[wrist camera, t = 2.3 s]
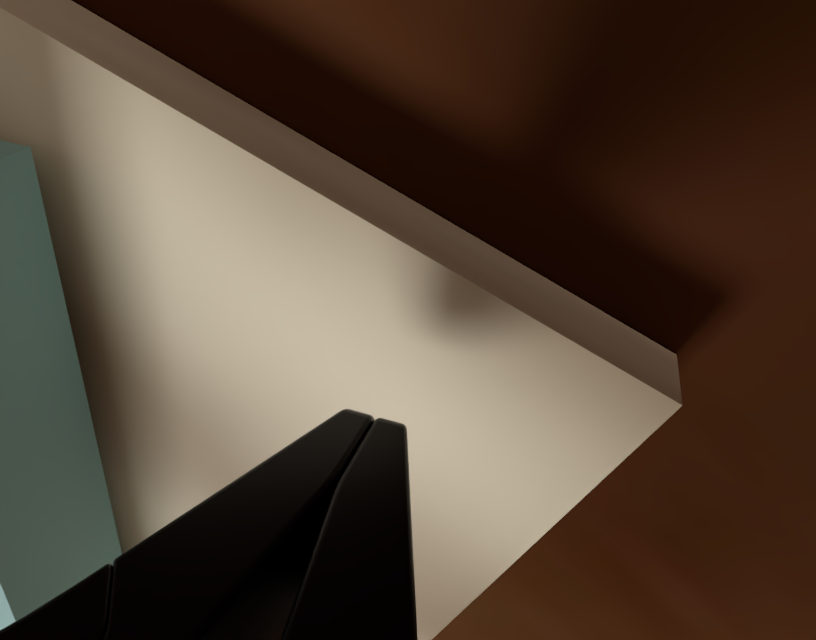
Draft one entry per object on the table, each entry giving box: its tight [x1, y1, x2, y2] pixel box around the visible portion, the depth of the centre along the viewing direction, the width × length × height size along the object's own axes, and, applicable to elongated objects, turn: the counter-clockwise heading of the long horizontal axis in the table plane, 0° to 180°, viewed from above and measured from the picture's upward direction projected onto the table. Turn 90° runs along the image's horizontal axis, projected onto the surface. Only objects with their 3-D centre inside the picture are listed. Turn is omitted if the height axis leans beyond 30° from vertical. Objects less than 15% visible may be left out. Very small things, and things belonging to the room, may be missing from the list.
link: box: [0, 140, 122, 630], centre depth 14 cm, size 21×5×2 cm, turn 174°
